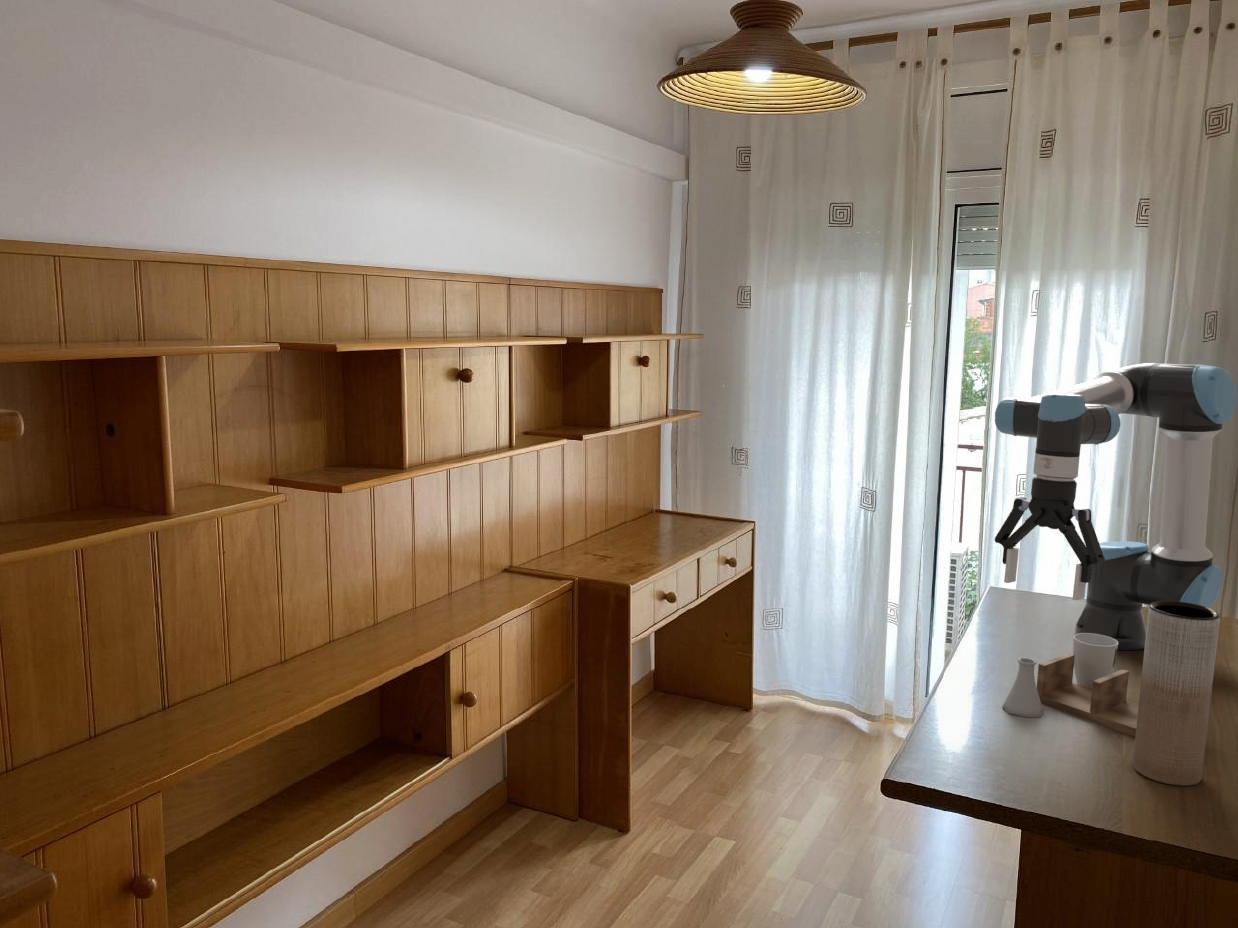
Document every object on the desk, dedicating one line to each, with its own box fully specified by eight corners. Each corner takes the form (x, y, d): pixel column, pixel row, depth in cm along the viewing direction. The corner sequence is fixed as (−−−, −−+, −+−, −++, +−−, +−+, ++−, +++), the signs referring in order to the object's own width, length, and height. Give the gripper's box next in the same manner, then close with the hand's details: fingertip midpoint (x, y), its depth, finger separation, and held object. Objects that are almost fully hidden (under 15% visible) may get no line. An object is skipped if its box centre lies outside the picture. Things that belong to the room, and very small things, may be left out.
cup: (1118, 696, 193) (1123, 647, 192) (1074, 692, 195) (1079, 644, 193) (1107, 681, 201) (1111, 634, 199) (1064, 677, 203) (1069, 631, 201)
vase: (1200, 792, 154) (1220, 622, 150) (1129, 776, 159) (1147, 611, 155) (1202, 768, 162) (1220, 607, 158) (1135, 753, 167) (1151, 596, 163)
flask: (1042, 706, 187) (1046, 656, 186) (1045, 721, 181) (1049, 669, 179) (1001, 701, 190) (1005, 651, 188) (1003, 715, 183) (1007, 663, 181)
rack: (1067, 688, 197) (1070, 652, 196) (1185, 727, 179) (1189, 688, 178) (1033, 701, 190) (1037, 664, 189) (1153, 743, 172) (1158, 702, 171)
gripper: (982, 469, 187) (972, 577, 190) (1112, 489, 167) (1098, 609, 170) (1004, 467, 192) (994, 573, 195) (1133, 486, 172) (1120, 603, 175)
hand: (1043, 590), depth 182 cm, fingers open, 13 cm apart
